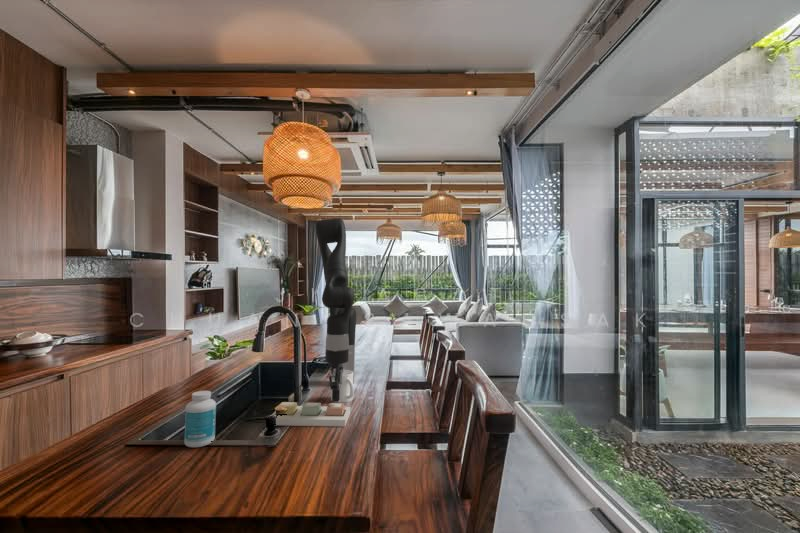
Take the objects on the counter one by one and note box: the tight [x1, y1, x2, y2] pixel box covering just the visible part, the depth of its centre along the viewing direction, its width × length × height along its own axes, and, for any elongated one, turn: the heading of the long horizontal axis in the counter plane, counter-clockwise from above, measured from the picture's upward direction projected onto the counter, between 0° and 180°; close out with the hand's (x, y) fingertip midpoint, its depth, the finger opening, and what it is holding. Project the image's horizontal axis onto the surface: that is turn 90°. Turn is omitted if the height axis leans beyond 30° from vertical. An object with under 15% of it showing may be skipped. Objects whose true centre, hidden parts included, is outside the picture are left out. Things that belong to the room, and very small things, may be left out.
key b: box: [302, 402, 322, 416], centre depth 120 cm, size 5×5×2 cm
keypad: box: [271, 405, 351, 427], centre depth 120 cm, size 12×24×2 cm, turn 90°
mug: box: [330, 370, 355, 404], centre depth 138 cm, size 12×8×10 cm
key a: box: [327, 402, 346, 416], centre depth 120 cm, size 5×5×2 cm
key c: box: [278, 401, 298, 415], centre depth 120 cm, size 5×5×2 cm
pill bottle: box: [183, 390, 217, 448], centre depth 101 cm, size 8×7×14 cm
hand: (335, 400), depth 120 cm, fingers closed
